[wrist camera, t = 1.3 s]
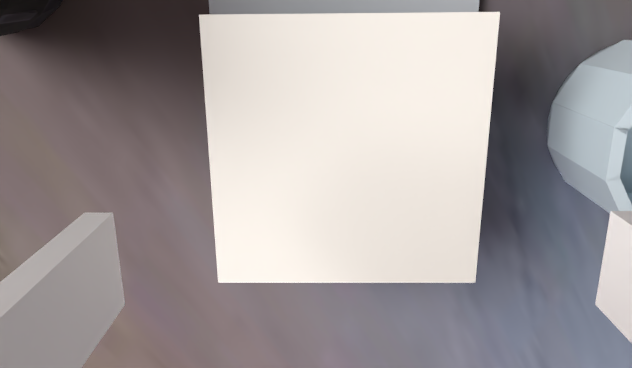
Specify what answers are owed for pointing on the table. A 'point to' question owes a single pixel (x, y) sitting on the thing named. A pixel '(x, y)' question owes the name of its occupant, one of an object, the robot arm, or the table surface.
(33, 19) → the portable speaker
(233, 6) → the stand
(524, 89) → the table surface
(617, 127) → the ceramic bowl
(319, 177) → the white flat square block
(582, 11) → the table surface
